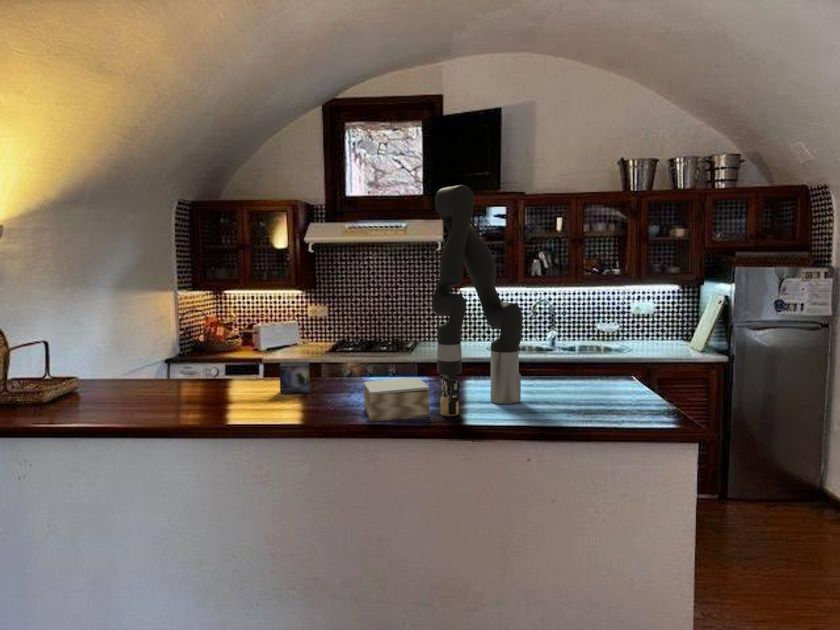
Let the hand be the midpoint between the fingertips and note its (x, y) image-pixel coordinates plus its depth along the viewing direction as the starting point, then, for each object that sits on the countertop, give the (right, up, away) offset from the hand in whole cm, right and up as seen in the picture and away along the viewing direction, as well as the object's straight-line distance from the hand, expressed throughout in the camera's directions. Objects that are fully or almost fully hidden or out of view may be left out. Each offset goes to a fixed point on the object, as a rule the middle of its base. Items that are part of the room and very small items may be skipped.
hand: (449, 411), depth 185 cm
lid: (-17, +8, 0) cm, 18 cm away
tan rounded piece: (0, -1, 0) cm, 1 cm away
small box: (-54, +2, +30) cm, 62 cm away
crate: (-17, -1, +1) cm, 17 cm away
